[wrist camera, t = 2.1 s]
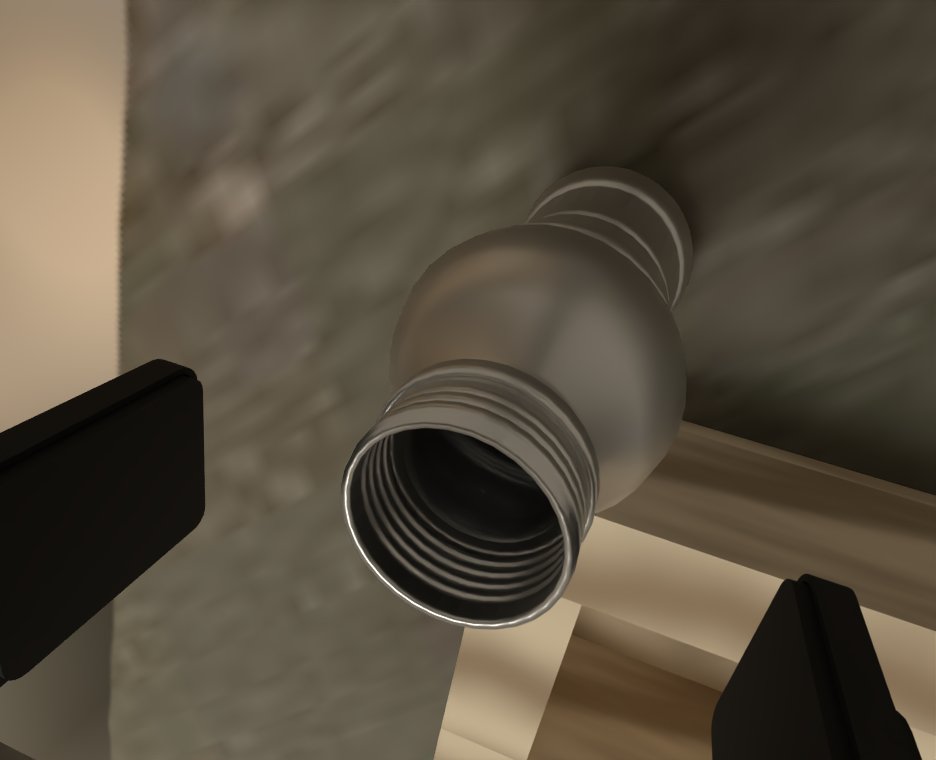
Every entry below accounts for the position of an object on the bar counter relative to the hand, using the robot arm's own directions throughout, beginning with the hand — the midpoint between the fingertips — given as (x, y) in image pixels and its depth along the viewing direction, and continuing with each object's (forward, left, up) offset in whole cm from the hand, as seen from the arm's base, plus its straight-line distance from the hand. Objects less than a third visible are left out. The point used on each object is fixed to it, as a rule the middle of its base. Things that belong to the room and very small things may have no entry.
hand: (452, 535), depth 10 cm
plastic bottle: (-1, 0, -20) cm, 20 cm away
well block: (+15, +8, -20) cm, 26 cm away
